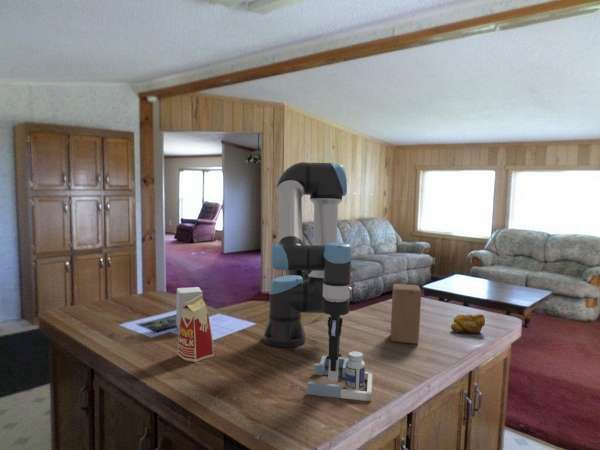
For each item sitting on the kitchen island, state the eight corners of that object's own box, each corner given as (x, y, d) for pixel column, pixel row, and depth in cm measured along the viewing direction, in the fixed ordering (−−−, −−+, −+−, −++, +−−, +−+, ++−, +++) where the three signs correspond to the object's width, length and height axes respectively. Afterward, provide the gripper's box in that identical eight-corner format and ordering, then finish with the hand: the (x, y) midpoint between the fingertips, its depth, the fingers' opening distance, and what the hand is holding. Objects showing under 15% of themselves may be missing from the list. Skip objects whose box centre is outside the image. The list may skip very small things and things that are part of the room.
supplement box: (202, 330, 173) (203, 291, 172) (178, 332, 170) (179, 293, 169) (198, 323, 182) (199, 286, 180) (176, 325, 178) (176, 287, 177)
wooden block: (418, 345, 163) (421, 290, 162) (390, 342, 165) (393, 288, 164) (417, 336, 173) (419, 284, 171) (390, 333, 175) (392, 283, 173)
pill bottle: (360, 382, 130) (361, 349, 129) (366, 391, 125) (368, 356, 124) (342, 384, 129) (343, 350, 128) (348, 392, 124) (349, 357, 123)
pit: (322, 375, 134) (322, 374, 134) (325, 366, 141) (325, 365, 141) (342, 377, 133) (342, 376, 133) (344, 368, 140) (344, 367, 140)
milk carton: (197, 348, 153) (198, 290, 151) (215, 355, 147) (216, 295, 146) (174, 356, 146) (174, 295, 144) (192, 363, 140) (192, 300, 139)
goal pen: (340, 397, 120) (340, 390, 120) (344, 376, 134) (345, 369, 134) (370, 401, 119) (371, 393, 119) (372, 378, 133) (372, 372, 133)
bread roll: (454, 335, 176) (455, 315, 175) (445, 327, 186) (446, 308, 185) (486, 335, 177) (488, 315, 176) (475, 327, 186) (477, 308, 186)
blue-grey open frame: (307, 394, 122) (307, 383, 122) (318, 364, 142) (318, 355, 142) (342, 398, 120) (342, 387, 120) (348, 367, 141) (348, 358, 141)
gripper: (348, 305, 119) (344, 391, 121) (350, 293, 132) (347, 372, 134) (320, 303, 120) (317, 389, 122) (325, 292, 133) (322, 369, 135)
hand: (333, 380), depth 128 cm, fingers closed
